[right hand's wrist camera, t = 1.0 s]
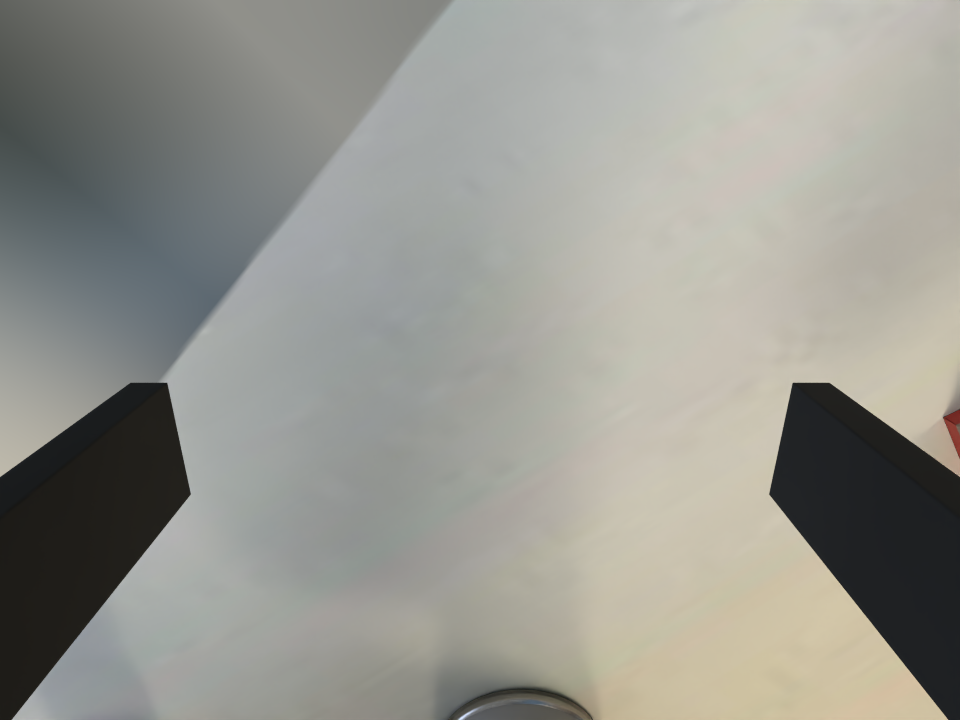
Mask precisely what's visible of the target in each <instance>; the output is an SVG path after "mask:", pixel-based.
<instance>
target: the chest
mask: <svg viewBox="0 0 960 720" xmlns="http://www.w3.org/2000/svg"><path fill="white" fill-rule="evenodd" d="M943 418H944V420H945V423H946V425H947V428H948V430H949V433H950V435H951V438H952V440H953V443H954V445H955V448H956V450H957V453H958V455H959V458H960V410H958V411H956V412H954V413H952V414H949V415H947V416H945V417H943Z"/></svg>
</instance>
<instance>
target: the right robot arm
mask: <svg viewBox="0 0 960 720" xmlns="http://www.w3.org/2000/svg"><path fill="white" fill-rule="evenodd" d="M190 495H191V493H190V488H189V484H188V479H187V474H186V470H185V465H184V460H183V455H182V451H181V446H180V441H179V436H178V432H177V427H176V422H175V417H174V413H173V408H172V403H171V399H170V394H169V389H168V384H167V383H130V384H128V385H127V386H126V387H124V388H123V389H122V390H120V391H119V392H117V393H116V394H115V395H113V396H112V397H110V398H109V399H108V400H106V401H105V402H103V403H102V404H101V405H99V406H98V407H97V408H95V409H94V410H92V411H91V412H90V413H88V414H87V415H86V416H84V417H83V418H81V419H80V420H79V421H77V422H76V423H74V424H73V425H72V426H70V427H69V428H68V429H66V430H65V431H63V432H62V433H61V434H59V435H58V436H56V437H55V438H54V439H52V440H51V441H50V442H48V443H47V444H45V445H44V446H43V447H41V448H40V449H38V450H37V451H36V452H34V453H33V454H32V455H30V456H29V457H27V458H26V459H25V460H23V461H22V462H21V463H19V464H18V465H16V466H15V467H14V468H12V469H11V470H9V471H8V472H7V473H5V474H4V475H2V476H1V477H0V720H12V719H13V717H14V716H15V715H16V714H17V712H18V711H19V710H20V708H21V707H22V706H23V705H24V703H25V702H26V701H27V700H28V698H29V697H30V696H31V695H32V693H33V692H34V691H35V690H36V688H37V687H38V686H39V685H40V683H41V682H42V681H43V680H44V678H45V677H46V676H47V675H48V673H49V672H50V671H51V669H52V668H53V667H54V666H55V664H56V663H57V662H58V661H59V659H60V658H61V657H62V656H63V654H64V653H65V652H66V651H67V649H68V648H69V647H70V646H71V644H72V643H73V642H74V641H75V639H76V638H77V637H78V636H79V634H80V633H81V632H82V630H83V629H84V628H85V627H86V625H87V624H88V623H89V622H90V620H91V619H92V618H93V617H94V615H95V614H96V613H97V612H98V610H99V609H100V608H101V607H102V605H103V604H104V603H105V602H106V600H107V599H108V598H109V597H110V595H111V594H112V593H113V591H114V590H115V589H116V588H117V586H118V585H119V584H120V583H121V581H122V580H123V579H124V578H125V576H126V575H127V574H128V573H129V571H130V570H131V569H132V568H133V566H134V565H135V564H136V563H137V561H138V560H139V559H140V558H141V556H142V555H143V554H144V552H145V551H146V550H147V549H148V547H149V546H150V545H151V544H152V542H153V541H154V540H155V539H156V537H157V536H158V535H159V534H160V532H161V531H162V530H163V529H164V527H165V526H166V525H167V524H168V522H169V521H170V520H171V519H172V517H173V516H174V515H175V513H176V512H177V511H178V510H179V508H180V507H181V506H182V505H183V503H184V502H185V501H186V500H187V498H188V497H189V496H190ZM769 495H770V496H771V497H772V498H773V500H774V501H775V502H776V503H777V505H778V506H779V507H780V508H781V510H782V511H783V512H784V513H785V515H786V516H787V517H788V519H789V520H790V521H791V522H792V524H793V525H794V526H795V527H796V529H797V530H798V531H799V532H800V534H801V535H802V536H803V537H804V539H805V540H806V541H807V542H808V544H809V545H810V546H811V547H812V549H813V550H814V551H815V552H816V554H817V555H818V556H819V558H820V559H821V560H822V561H823V563H824V564H825V565H826V566H827V568H828V569H829V570H830V571H831V573H832V574H833V575H834V576H835V578H836V579H837V580H838V581H839V583H840V584H841V585H842V586H843V588H844V589H845V590H846V591H847V593H848V594H849V595H850V597H851V598H852V599H853V600H854V602H855V603H856V604H857V605H858V607H859V608H860V609H861V610H862V612H863V613H864V614H865V615H866V617H867V618H868V619H869V620H870V622H871V623H872V624H873V625H874V627H875V628H876V629H877V630H878V632H879V633H880V634H881V636H882V637H883V638H884V639H885V641H886V642H887V643H888V644H889V646H890V647H891V648H892V649H893V651H894V652H895V653H896V654H897V656H898V657H899V658H900V659H901V661H902V662H903V663H904V664H905V666H906V667H907V668H908V669H909V671H910V672H911V673H912V675H913V676H914V677H915V678H916V680H917V681H918V682H919V683H920V685H921V686H922V687H923V688H924V690H925V691H926V692H927V693H928V695H929V696H930V697H931V698H932V700H933V701H934V702H935V703H936V705H937V706H938V707H939V708H940V710H941V711H942V712H943V714H944V715H945V716H946V717H947V719H948V720H960V477H959V476H958V475H956V474H955V473H953V472H952V471H951V470H949V469H948V468H946V467H945V466H944V465H942V464H941V463H940V462H938V461H937V460H935V459H934V458H933V457H931V456H930V455H928V454H927V453H926V452H924V451H923V450H922V449H920V448H919V447H917V446H916V445H915V444H913V443H912V442H910V441H909V440H908V439H906V438H905V437H904V436H902V435H901V434H899V433H898V432H897V431H895V430H894V429H892V428H891V427H890V426H888V425H887V424H886V423H884V422H883V421H881V420H880V419H879V418H877V417H876V416H874V415H873V414H872V413H870V412H869V411H868V410H866V409H865V408H863V407H862V406H861V405H859V404H858V403H857V402H855V401H854V400H852V399H851V398H850V397H848V396H847V395H845V394H844V393H843V392H841V391H840V390H839V389H837V388H836V387H834V386H833V385H832V384H830V383H793V384H792V389H791V394H790V399H789V403H788V408H787V413H786V417H785V422H784V427H783V432H782V436H781V441H780V446H779V451H778V455H777V460H776V465H775V470H774V474H773V479H772V484H771V488H770V493H769ZM448 720H592V719H591V717H590V716H589V715H588V714H587V713H586V712H585V711H584V710H583V709H581V708H580V707H579V706H577V705H576V704H575V703H573V702H571V701H569V700H567V699H565V698H563V697H560V696H557V695H555V694H551V693H547V692H542V691H536V690H522V689H521V690H506V691H500V692H495V693H491V694H488V695H485V696H482V697H479V698H477V699H475V700H473V701H471V702H469V703H467V704H465V705H464V706H462V707H461V708H460V709H458V710H457V711H456V712H455V713H454V714H453V715H452V716H451V717H450V718H449V719H448Z"/></svg>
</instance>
